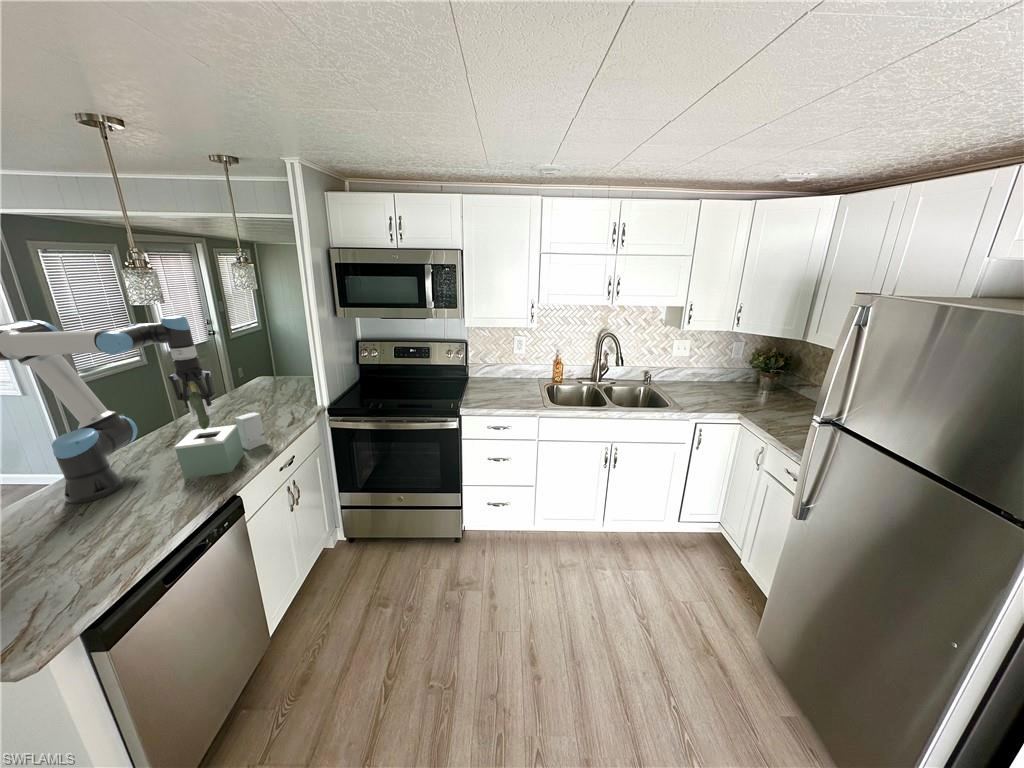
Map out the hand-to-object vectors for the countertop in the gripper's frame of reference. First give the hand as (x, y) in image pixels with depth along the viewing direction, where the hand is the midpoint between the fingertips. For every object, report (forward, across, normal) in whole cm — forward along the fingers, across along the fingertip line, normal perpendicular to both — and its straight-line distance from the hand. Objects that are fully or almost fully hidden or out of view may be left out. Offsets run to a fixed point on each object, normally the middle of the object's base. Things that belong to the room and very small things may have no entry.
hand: (201, 414), depth 159 cm
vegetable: (+7, 0, 0) cm, 7 cm away
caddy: (+23, 0, 0) cm, 23 cm away
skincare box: (+23, +10, +16) cm, 30 cm away
